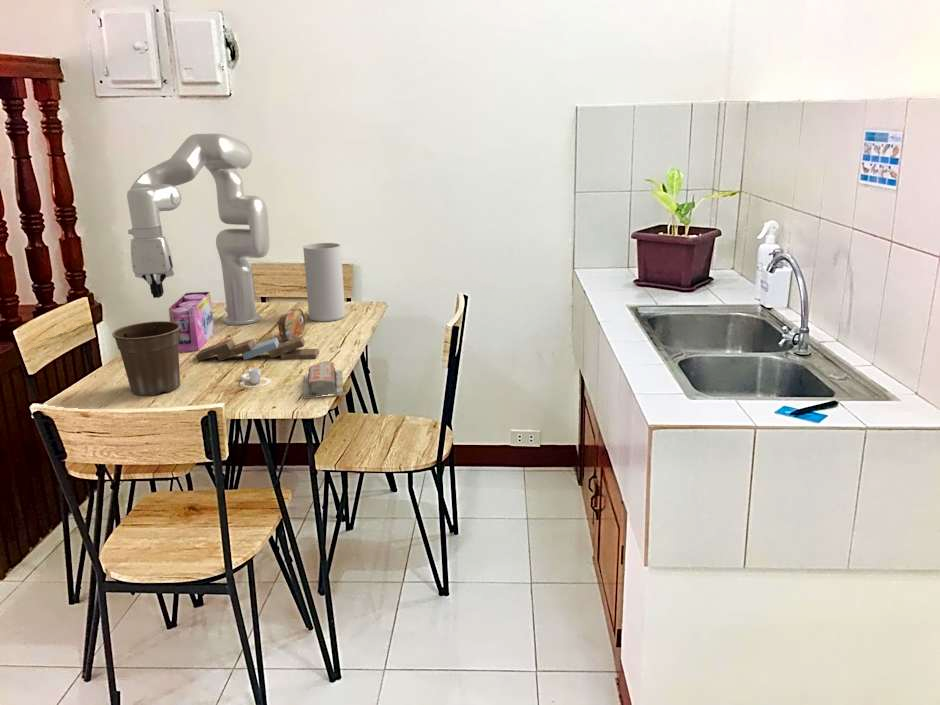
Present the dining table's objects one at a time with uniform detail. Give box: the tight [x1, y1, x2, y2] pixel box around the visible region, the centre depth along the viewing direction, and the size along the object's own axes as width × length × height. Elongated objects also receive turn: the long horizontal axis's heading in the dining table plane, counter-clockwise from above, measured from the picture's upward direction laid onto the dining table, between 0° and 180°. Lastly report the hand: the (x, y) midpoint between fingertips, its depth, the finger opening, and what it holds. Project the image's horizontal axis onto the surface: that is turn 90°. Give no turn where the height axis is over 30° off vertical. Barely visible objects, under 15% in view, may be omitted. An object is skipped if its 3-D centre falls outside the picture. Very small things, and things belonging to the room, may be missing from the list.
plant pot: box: [111, 320, 181, 397], centre depth 205 cm, size 16×16×16 cm
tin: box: [277, 308, 306, 341], centre depth 251 cm, size 15×3×8 cm, turn 168°
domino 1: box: [195, 338, 236, 362], centre depth 231 cm, size 2×6×10 cm
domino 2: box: [216, 338, 256, 362], centre depth 231 cm, size 2×6×10 cm
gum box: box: [168, 291, 216, 353], centre depth 247 cm, size 24×8×14 cm, turn 5°
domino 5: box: [280, 348, 320, 361], centre depth 232 cm, size 2×6×10 cm
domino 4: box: [268, 335, 306, 359], centre depth 232 cm, size 2×6×10 cm
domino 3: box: [241, 336, 280, 361], centre depth 232 cm, size 2×6×10 cm
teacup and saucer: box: [239, 367, 272, 389], centre depth 210 cm, size 9×8×4 cm
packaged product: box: [302, 360, 344, 399], centre depth 206 cm, size 18×5×10 cm
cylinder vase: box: [302, 242, 346, 322], centre depth 272 cm, size 12×12×25 cm
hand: (158, 296), depth 227 cm, fingers closed
